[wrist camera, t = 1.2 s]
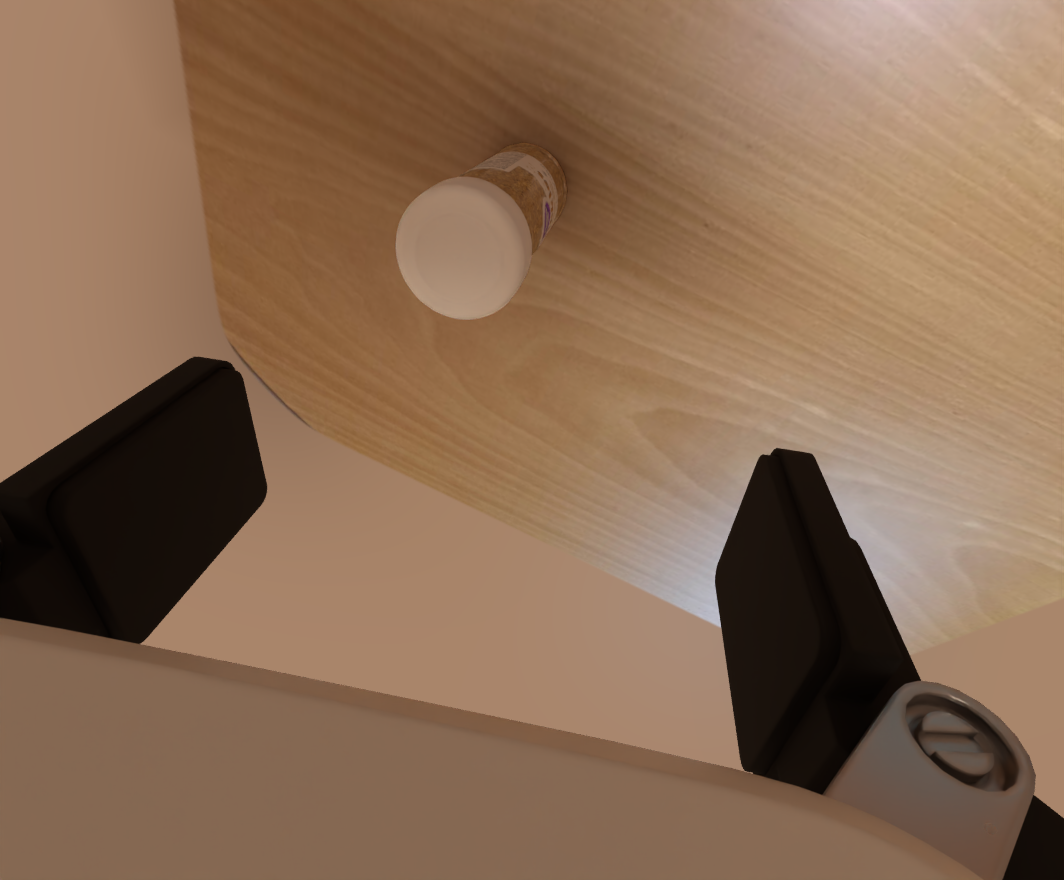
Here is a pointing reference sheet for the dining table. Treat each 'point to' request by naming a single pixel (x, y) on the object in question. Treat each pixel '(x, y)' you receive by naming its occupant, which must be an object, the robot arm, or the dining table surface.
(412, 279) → the sprinkles bottle
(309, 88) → the dining table surface
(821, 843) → the robot arm
